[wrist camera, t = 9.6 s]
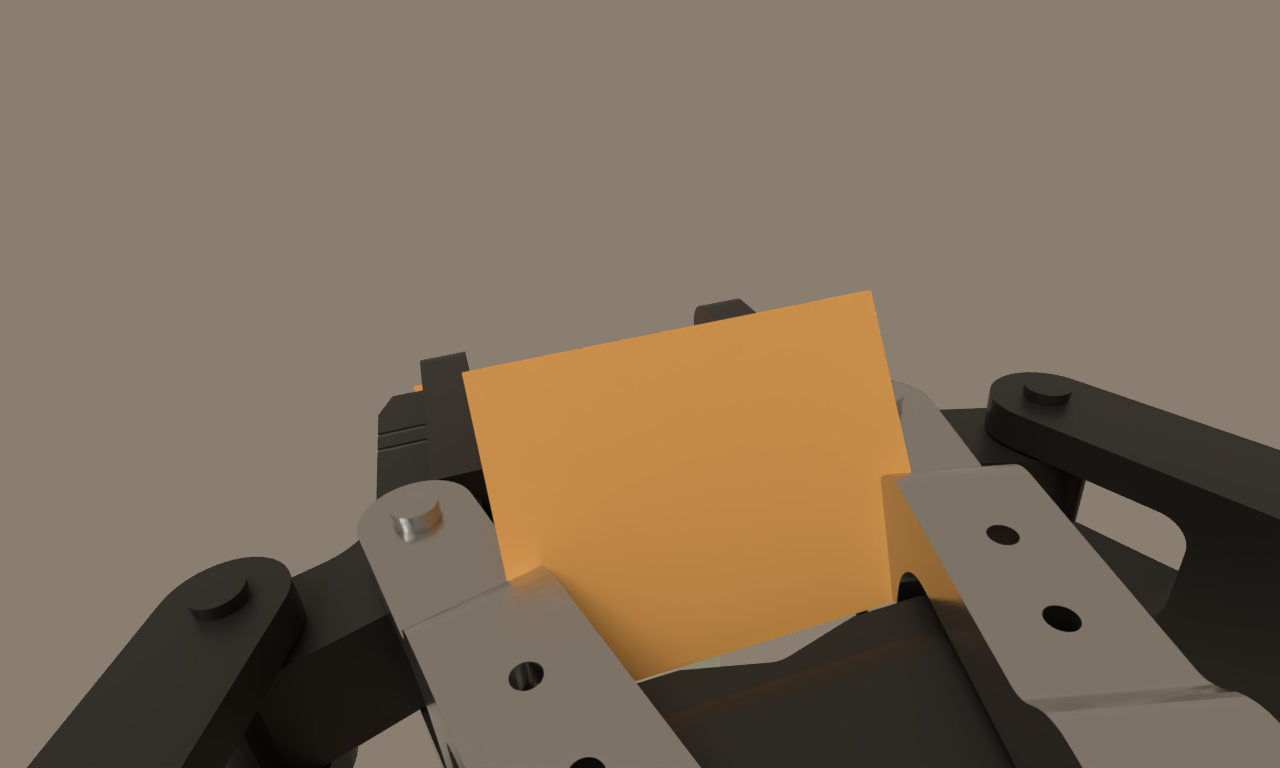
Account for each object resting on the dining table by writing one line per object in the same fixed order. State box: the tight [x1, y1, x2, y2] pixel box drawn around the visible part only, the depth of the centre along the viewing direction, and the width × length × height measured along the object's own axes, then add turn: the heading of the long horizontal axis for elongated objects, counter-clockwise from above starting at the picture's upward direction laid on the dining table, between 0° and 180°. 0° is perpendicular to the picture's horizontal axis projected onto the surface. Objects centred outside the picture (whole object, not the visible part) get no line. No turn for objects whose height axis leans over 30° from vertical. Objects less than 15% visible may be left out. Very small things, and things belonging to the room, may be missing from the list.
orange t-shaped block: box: [414, 290, 911, 681], centre depth 17 cm, size 20×7×4 cm, turn 12°
